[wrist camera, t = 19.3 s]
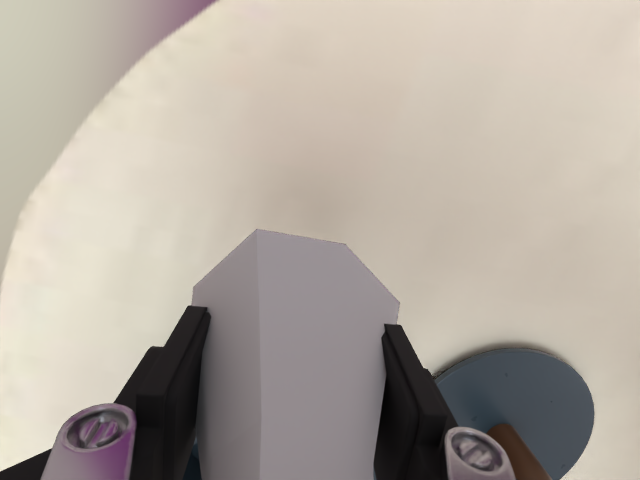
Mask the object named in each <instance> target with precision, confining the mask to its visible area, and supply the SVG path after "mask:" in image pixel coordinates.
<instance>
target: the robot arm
mask: <svg viewBox="0 0 640 480" xmlns="http://www.w3.org/2000/svg"><path fill="white" fill-rule="evenodd" d="M207 308H208V307H200V306H188V307H187V308H186V310H185V312H184V313H183V315H182V317H181V319H180V320H179V322H178V324H177V325H176V327H175V329H174V330H173V332H172V334H171V336H170V337H169V339H168V341H167V342H166V344H165V346H164V347H155V346H152V347H150V348H149V349H148V351H147V352H146V354H145V355H144V357H143V359H142V360H141V362H140V363H139V365H138V366H137V368H136V369H135V371H134V372H133V374H132V375H131V377H130V378H129V380H128V382H127V383H126V385H125V386H124V388H123V389H122V391H121V392H120V394H119V395H118V397H117V398H116V400H115V401H114V403H110V404H100V405H95V406H92V407H89V408H86V409H84V410H81V411H80V412H78V413H76V414H75V415H73V416H71V417H70V418H69V419H68V420H67V421H66V422H65V423H64V424H63V426H62V427H61V429H60V430H59V432H58V435H57V437H56V440H55V443H54V445H53V448H52V449H49V450H47V451H45V452H43V453H41V454H38V455H36V456H34V457H32V458H29V459H27V460H25V461H23V462H21V463H18V464H16V465H14V466H12V467H10V468H7V469H5V470H3V471H1V472H0V480H182V479H183V476H184V473H185V469H186V466H187V463H188V460H189V457H190V454H191V451H192V447H193V444H194V441H195V438H196V415H197V404H198V394H199V383H200V372H201V361H202V352H203V348H204V344H205V340H206V336H207V332H208V328H209V324H210V320H211V315H210V313H209V312H206V311H207ZM384 326H385V332H384V334H383V335H382V337H381V339H382V346H383V353H384V360H385V367H386V380H385V387H384V394H383V401H382V407H381V414H380V421H379V428H378V435H377V441H376V448H375V455H374V462H373V466H374V470H375V475H376V479H377V480H518V479H516V478H515V475H514V472H513V469H512V466H511V463H510V460H509V458H508V456H507V454H506V452H505V450H504V449H503V448H502V447H501V446H500V444H499V443H497V442H496V441H495V440H494V439H492V438H491V437H490V436H488V435H486V434H484V433H483V432H481V431H478V430H475V429H472V428H468V427H459V426H458V424H457V422H456V420H455V418H454V416H453V414H452V413H451V411H450V409H449V407H448V405H447V403H446V401H445V400H444V398H443V396H442V394H441V392H440V390H439V388H438V386H437V385H436V383H435V381H434V379H433V377H432V375H431V373H430V372H429V371H428V369H425V368H423V367H422V365H421V363H420V361H419V359H418V357H417V355H416V353H415V351H414V349H413V347H412V345H411V344H410V342H409V340H408V338H407V336H406V334H405V332H404V330H403V328H402V326H401V325H396V324H384Z"/></svg>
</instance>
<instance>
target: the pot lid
mask: <svg viewBox="0 0 640 480" xmlns="http://www.w3.org/2000/svg"><path fill="white" fill-rule="evenodd" d="M434 381H435V383H436V385H437V386H438V388H439V390H440V392H441V394H442V396H443V398H444V400H445V401H446V403H447V405H448V407H449V409H450V411H451V413H452V414H453V416H454V418H455V420H456V422H457V424H458V426H459V427H468V428H472V429H475V430H478V431H481V432H483V433H484V434H486V435H488V436H490V437H491V438H492V439H494V440H495V441H496V442H497V443H499V444H500V446H501V447H502V448H503V449H504V450H505V452H506V454H507V456H508V458H509V460H510V463H511V466H512V469H513V472H514V475H515V478H516V479H518V480H560V479H561V478H562V477H563V476H564V475H565V474H566V473H567V472H568V471H569V470H570V469H571V468H572V467H573V465H574V464H575V463H576V462H577V460H578V459H579V457H580V456H581V455H582V453H583V451H584V449H585V447H586V446H587V444H588V441H589V438H590V436H591V433H592V428H593V424H594V404H593V400H592V396H591V393H590V391H589V389H588V386H587V384H586V383H585V381H584V380H583V379H582V377H581V376H580V375H579V374H578V373H577V372H576V371H575V370H574V369H573V368H572V367H571V366H570V365H568V364H567V363H565V362H564V361H563V360H561V359H559V358H557V357H555V356H553V355H551V354H548V353H545V352H542V351H538V350H533V349H525V348H508V349H499V350H493V351H488V352H485V353H482V354H478V355H475V356H473V357H470V358H468V359H466V360H463V361H462V362H460V363H458V364H456V365H454V366H452V367H451V368H449V369H448V370H447V371H445V372H444V373H442V374H441V375H440V376H438V377H437V378H436V379H435V380H434Z"/></svg>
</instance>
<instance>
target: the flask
mask: <svg viewBox="0 0 640 480" xmlns="http://www.w3.org/2000/svg"><path fill="white" fill-rule="evenodd" d="M399 305H400V302H399V301H398V300H397V299H396V298H395V297H394V296H393V295H392V294H391V293H390V292H389V290H388V289H387V288H386V287H385V286H384V285H383V284H382V283H381V282H380V281H379V280H378V279H377V278H376V277H375V275H374V274H373V273H372V272H371V271H370V270H369V269H368V268H367V267H366V266H365V265H364V264H363V263H362V262H361V261H360V259H359V258H358V257H357V256H356V255H355V254H354V253H353V252H352V251H351V250H350V249H349V248H348V247H347V246H346V244H342V243H336V242H330V241H324V240H318V239H312V238H307V237H301V236H295V235H289V234H283V233H277V232H271V231H266V230H260V229H256V230H255V231H254V232H253V233H252V234H251V235H249V236H248V237H247V238H246V239H245V240H244V241H243V242H242V243H241V244H240V245H239V246H237V247H236V248H235V249H234V250H233V251H232V252H231V253H230V254H229V255H228V256H227V257H225V258H224V259H223V260H222V261H221V262H220V263H219V264H218V265H217V266H216V267H215V268H214V269H212V270H211V271H210V272H209V273H208V274H207V275H206V276H205V277H204V278H203V279H202V280H200V281H199V282H198V283H197V284H196V285H195V286H194V287H193V296H192V305H191V306H200V307H208V308H207V311H206V312H209V313H210V315H211V320H210V324H209V328H208V332H207V336H206V340H205V344H204V348H203V352H202V361H201V372H200V383H199V394H198V404H197V415H196V435H197V444H198V452H199V461H200V469H201V478H202V480H374V477H373V462H374V455H375V448H376V441H377V435H378V428H379V421H380V414H381V407H382V401H383V394H384V387H385V380H386V367H385V360H384V353H383V346H382V339H381V337H382V335H383V334H384V332H385V326H384V324H396V323H397V318H398V311H399Z"/></svg>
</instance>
